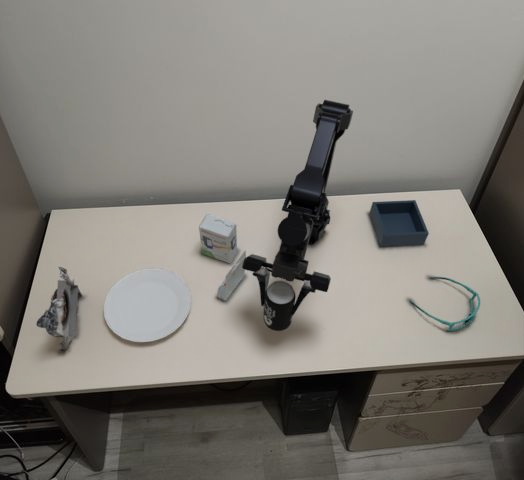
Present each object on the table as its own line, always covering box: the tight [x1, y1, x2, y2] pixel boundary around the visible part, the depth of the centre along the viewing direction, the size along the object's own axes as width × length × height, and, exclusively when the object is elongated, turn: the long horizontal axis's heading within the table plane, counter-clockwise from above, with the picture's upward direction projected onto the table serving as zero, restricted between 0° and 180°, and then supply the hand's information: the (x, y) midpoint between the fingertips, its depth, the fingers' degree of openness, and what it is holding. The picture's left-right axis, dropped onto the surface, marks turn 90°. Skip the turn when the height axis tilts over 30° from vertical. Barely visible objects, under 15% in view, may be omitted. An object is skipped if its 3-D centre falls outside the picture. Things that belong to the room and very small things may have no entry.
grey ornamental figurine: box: [35, 266, 83, 353], centre depth 112 cm, size 15×4×13 cm, turn 4°
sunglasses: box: [409, 276, 481, 332], centre depth 123 cm, size 14×15×5 cm
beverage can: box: [262, 280, 297, 332], centre depth 107 cm, size 7×7×12 cm
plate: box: [103, 267, 192, 343], centre depth 119 cm, size 21×21×2 cm
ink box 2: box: [217, 250, 247, 302], centre depth 121 cm, size 3×9×12 cm, turn 150°
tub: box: [368, 199, 430, 248], centre depth 138 cm, size 13×13×5 cm
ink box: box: [198, 213, 238, 264], centre depth 127 cm, size 9×5×12 cm, turn 68°
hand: (277, 310), depth 106 cm, fingers closed on beverage can, 6 cm apart
